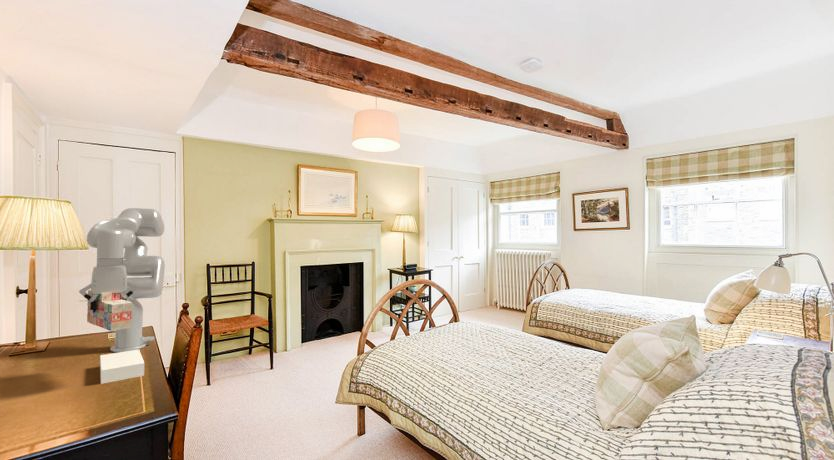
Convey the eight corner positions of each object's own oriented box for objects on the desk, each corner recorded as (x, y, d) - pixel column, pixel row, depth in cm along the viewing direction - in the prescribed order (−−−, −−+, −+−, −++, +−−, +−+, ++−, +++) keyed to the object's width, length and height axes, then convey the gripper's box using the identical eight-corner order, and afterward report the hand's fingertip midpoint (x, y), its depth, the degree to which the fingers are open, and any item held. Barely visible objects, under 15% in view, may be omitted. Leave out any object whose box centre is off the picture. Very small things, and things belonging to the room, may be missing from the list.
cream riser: (138, 361, 148) (139, 349, 148) (144, 376, 133) (144, 362, 133) (99, 368, 140) (100, 355, 140) (100, 385, 125) (101, 370, 125)
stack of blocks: (131, 327, 131) (133, 293, 131) (110, 331, 126) (111, 296, 126) (107, 318, 142) (108, 287, 142) (86, 322, 137) (87, 289, 137)
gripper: (138, 261, 143) (137, 306, 143) (78, 262, 131) (76, 311, 131) (140, 262, 137) (139, 309, 137) (77, 264, 126) (76, 315, 126)
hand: (108, 310), depth 134 cm, fingers closed on stack of blocks, 7 cm apart
